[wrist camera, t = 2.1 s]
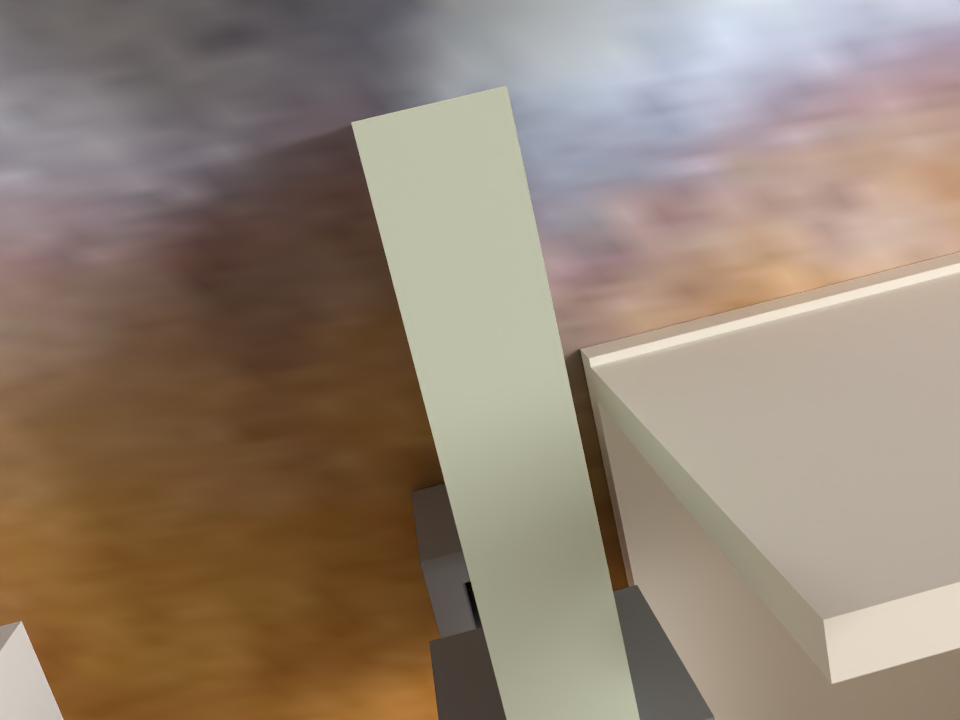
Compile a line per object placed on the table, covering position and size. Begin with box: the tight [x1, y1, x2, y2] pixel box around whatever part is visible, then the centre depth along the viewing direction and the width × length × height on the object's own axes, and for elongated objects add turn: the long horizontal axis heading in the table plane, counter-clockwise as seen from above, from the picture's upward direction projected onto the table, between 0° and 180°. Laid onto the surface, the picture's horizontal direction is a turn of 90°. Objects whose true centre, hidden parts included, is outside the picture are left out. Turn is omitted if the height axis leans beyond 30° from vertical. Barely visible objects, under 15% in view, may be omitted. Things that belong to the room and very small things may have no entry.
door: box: [351, 85, 715, 720], centre depth 22 cm, size 17×5×14 cm, turn 13°
